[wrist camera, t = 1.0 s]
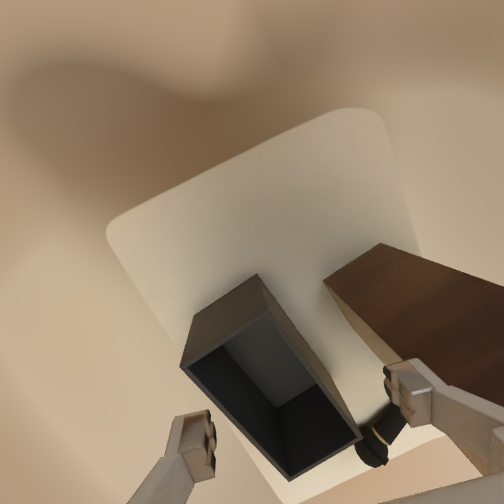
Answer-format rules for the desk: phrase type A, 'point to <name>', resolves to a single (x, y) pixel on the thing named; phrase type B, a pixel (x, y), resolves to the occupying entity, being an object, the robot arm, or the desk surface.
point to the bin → (268, 380)
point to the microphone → (380, 438)
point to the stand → (427, 320)
